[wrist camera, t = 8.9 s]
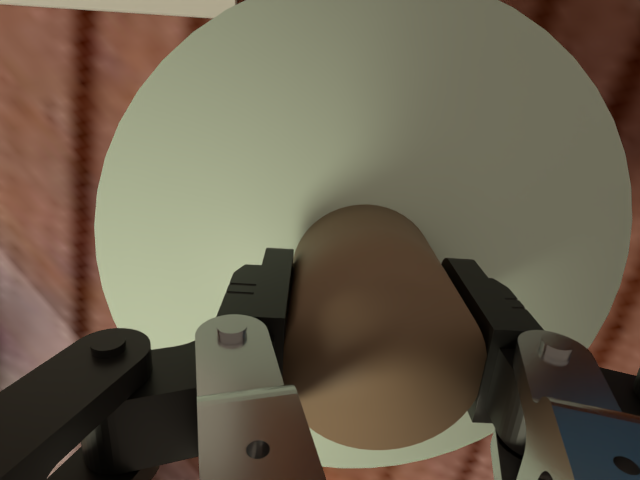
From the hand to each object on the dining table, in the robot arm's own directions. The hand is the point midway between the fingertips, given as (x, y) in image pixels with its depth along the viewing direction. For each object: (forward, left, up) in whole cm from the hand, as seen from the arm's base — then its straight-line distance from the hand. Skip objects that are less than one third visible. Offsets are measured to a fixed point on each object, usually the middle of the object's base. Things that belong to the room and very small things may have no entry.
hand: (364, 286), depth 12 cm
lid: (0, 0, -2) cm, 2 cm away
